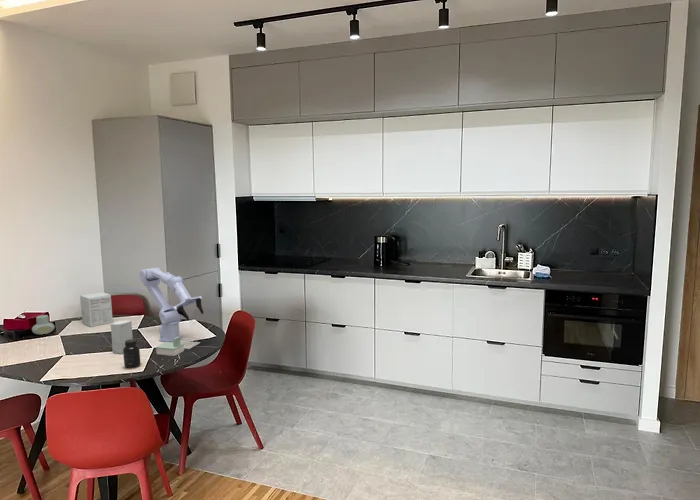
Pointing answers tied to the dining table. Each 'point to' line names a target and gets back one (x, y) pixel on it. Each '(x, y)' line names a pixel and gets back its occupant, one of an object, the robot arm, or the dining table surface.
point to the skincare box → (120, 335)
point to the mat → (189, 344)
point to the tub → (170, 351)
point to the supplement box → (96, 309)
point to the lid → (171, 344)
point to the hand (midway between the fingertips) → (195, 315)
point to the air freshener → (43, 325)
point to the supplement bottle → (131, 354)
